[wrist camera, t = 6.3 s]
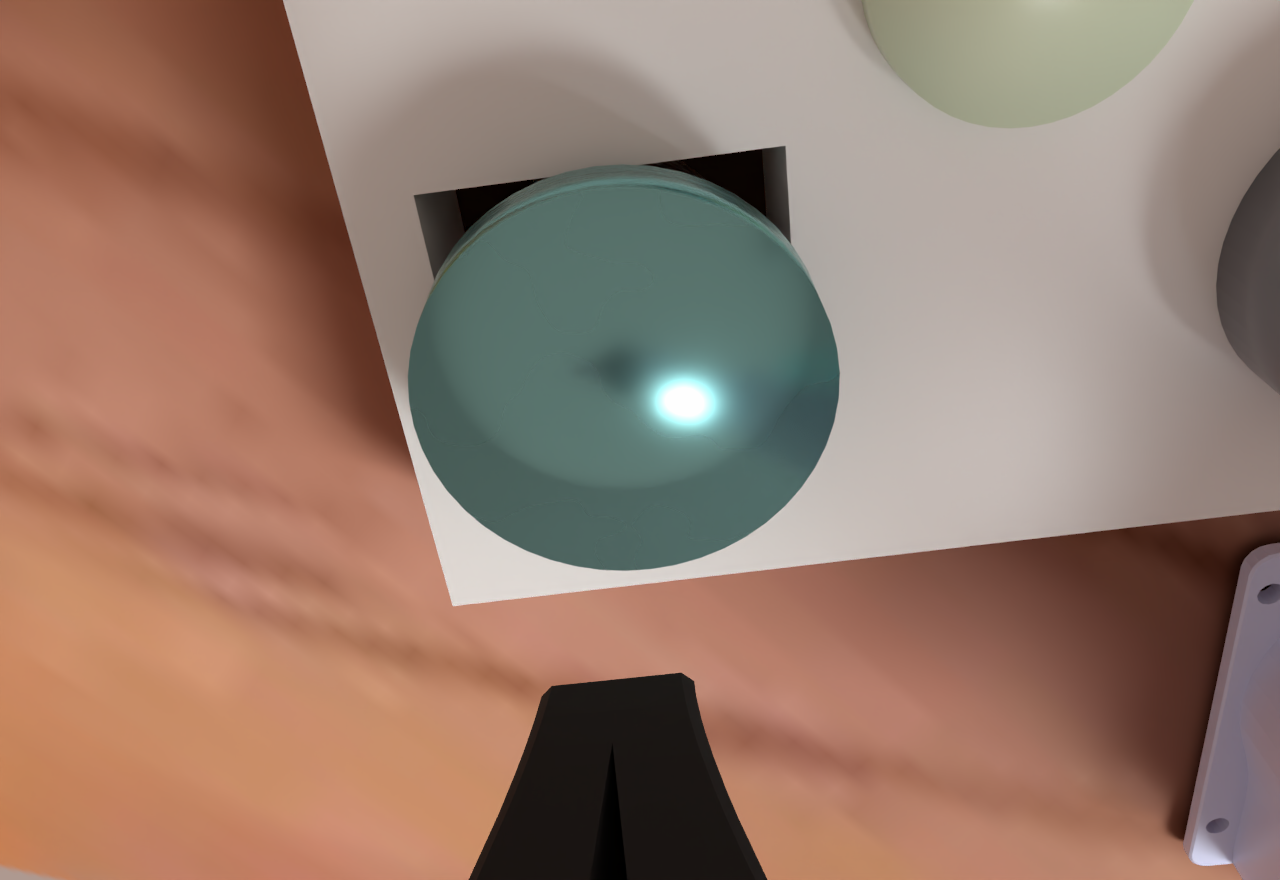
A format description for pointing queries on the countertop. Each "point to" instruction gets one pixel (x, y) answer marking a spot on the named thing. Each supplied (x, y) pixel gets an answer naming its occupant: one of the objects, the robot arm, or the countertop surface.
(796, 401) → the disc
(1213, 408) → the instrument base
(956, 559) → the countertop surface
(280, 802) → the countertop surface
